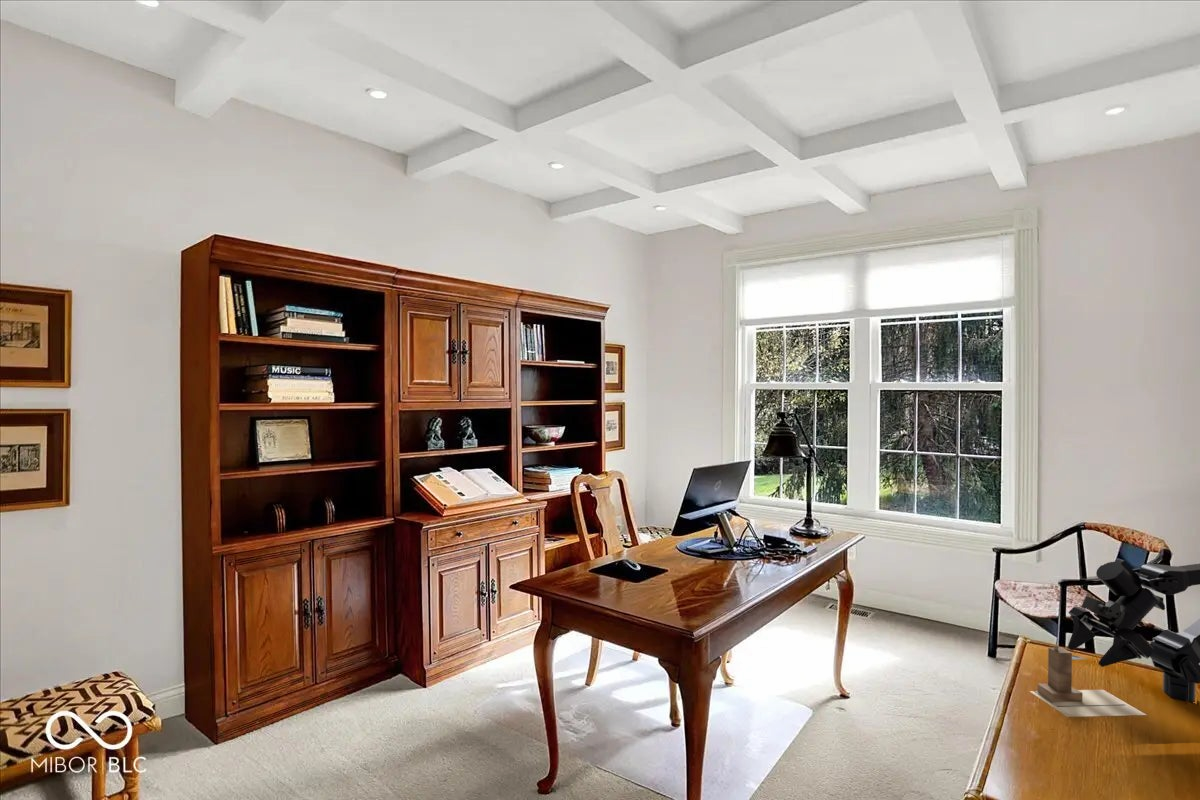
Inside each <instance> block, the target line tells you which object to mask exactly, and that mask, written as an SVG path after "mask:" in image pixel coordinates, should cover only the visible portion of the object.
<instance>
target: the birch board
mask: <svg viewBox="0 0 1200 800" xmlns="http://www.w3.org/2000/svg"><path fill="white" fill-rule="evenodd" d="M1077 690H1078V691H1080V692H1082V702H1052V701H1050V700H1049V699H1047V698H1046V697H1044V696H1043V695H1041V694H1040V693H1038V692H1037V690H1029V693H1031V694H1033V695H1034V696H1036V697H1037V698H1039V699H1040V700H1041V701H1043V702H1045V703H1046V704H1048V705H1049V706H1051V707H1052V708H1053V709H1055V710H1056V711H1058V712H1060V714H1062V715H1063V716H1065V717H1067V718H1078V717H1079V718H1081V717H1082V718H1083V717H1086V718H1088V717H1120V716H1121V717H1126V716H1127V717H1128V716H1147V714H1146V713H1144V712H1142V711H1141V710H1139V709H1137V708H1136V707H1134V706H1132V705H1130V704H1128V703H1127V702H1125V701H1124V700H1122V699H1120V698H1118V697H1117V696H1115V695H1113V694H1111V693H1110V692H1108V691H1107V690H1104V689H1077Z"/></svg>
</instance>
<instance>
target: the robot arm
mask: <svg viewBox="0 0 1200 800" xmlns="http://www.w3.org/2000/svg"><path fill="white" fill-rule="evenodd" d="M1095 574H1096V577H1097V578H1098V579H1099V580H1100V581H1101V582H1102V583H1103V584H1104V585H1105V587H1107V588H1108V589H1109V590H1110V592H1112V593H1113V594H1114V595H1115V596H1118V597H1119V598H1118V599H1116V601H1114V600H1107V601H1106V602H1103V601H1101V600H1099V599H1097V598H1094V597H1093V596H1089V595H1086V596H1085V597H1084V599H1083V601H1082V604H1081V605H1080V606H1073V607H1072V608H1071V609H1070V610H1069V611H1068V614H1069V615H1070V619H1071V620H1072V621H1073V631H1072V633H1071V636H1070V639H1069V642H1068V645H1067V648H1068V649H1069V651H1073V650H1076V649H1077V648H1079V647H1081V646H1082V645H1084V644H1086V643H1087V642H1089V641H1090V640H1092V639H1093V638H1095V637H1096V633H1099V632H1103V633H1105V634H1107V635H1110V636H1111V637H1113V641H1112V645H1111V646H1110V647H1109V649H1107V651H1106V652H1105V653H1104V655H1102V657H1101V658H1100V660H1099V661H1098V665H1099V666H1100V667H1102V668H1104V667H1108V666H1110V665H1115V664H1118V663H1121V662H1124V661H1129V660H1134V659H1138V660H1139V659H1142V658H1145V659H1149V658H1150V659H1151V662H1152V664H1153V667H1154V668H1156V669H1159V670H1161V671H1162V673H1163V674H1162V677H1163V678H1162V692H1163V693H1164V694H1166V695H1168V697H1169V698H1171V699H1173V700H1178V701H1181V702H1185V703H1186V702H1189V703H1191V704H1193V702H1195V697H1196V686H1197V685H1196V684H1198V685H1199V684H1200V618H1199V619H1197V620H1196V621H1195V622H1193V623H1192V624H1190V625H1189V626H1187V628H1186V627H1185V628H1184V630H1182V631H1180V632H1174V631H1171V630H1170V629H1165V630H1162V632H1160V633H1159V635H1157V636H1155V637H1152V638H1151V639H1152V641H1151V642H1149V641H1148V640H1147V639H1146V638H1145V637H1144V636H1143V635H1142V634H1141V633H1138V632H1136V631H1134V628H1136V626H1138V627H1141V628H1142V627H1143V626H1144V625H1145V623H1144V622H1143V621H1142V620H1143V619H1144V618H1145V617H1146V616H1147V615H1148V614H1149V613H1150V612H1151V611H1152V610H1153V609H1154V608H1157V609H1158V610H1162V611H1165V610H1166V606H1165V602H1164V597H1161V596H1159V595H1156V594H1154V593H1153V591H1155V592H1156V593H1160V594H1163V595H1165V596H1173V595H1177V594H1180V593H1183V592H1185V591H1187V589H1188V588H1189V587H1192V586H1198V585H1200V563H1194V564H1186V565H1179V566H1177V565H1176V566H1175V565H1167V564H1157V563H1156V564H1155V563H1145V564H1143V565H1141V566H1140V567H1137V568H1134V569H1133V568H1132V567H1131V566H1130V564H1129V563H1128V562H1127V561H1126V560H1124V559H1121V558H1117V559H1116V560H1114V561H1109V562H1107V563H1104V564H1103V565H1100V566H1099V567H1098V568H1097V569H1096V572H1095ZM1092 613H1093V614H1092Z"/></svg>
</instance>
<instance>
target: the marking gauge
mask: <svg viewBox="0 0 1200 800" xmlns="http://www.w3.org/2000/svg"><path fill="white" fill-rule="evenodd" d="M1072 655H1073V652H1071V651H1070V650H1067V649H1065V648H1064V647H1059V645H1058V644H1053V647H1048V653H1047V656H1048V657H1047V659H1048V660H1047V661H1048V663H1047V664H1048V665H1047V667H1048V669H1047V683H1037V690H1036V691H1037V692H1038V693H1040V694H1041V695H1043V696H1044V697H1046V698H1047V699H1049V700H1050V701H1052V702H1082V692H1080V691H1078V690H1079V689H1077V688H1075V687H1074V686H1072V685H1073V684H1072V682H1073V681H1072V680H1073V677H1072V675H1073V674H1072V673H1073V671H1072V670H1073V669H1072V667H1073V666H1072V665H1073V659H1072Z"/></svg>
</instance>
